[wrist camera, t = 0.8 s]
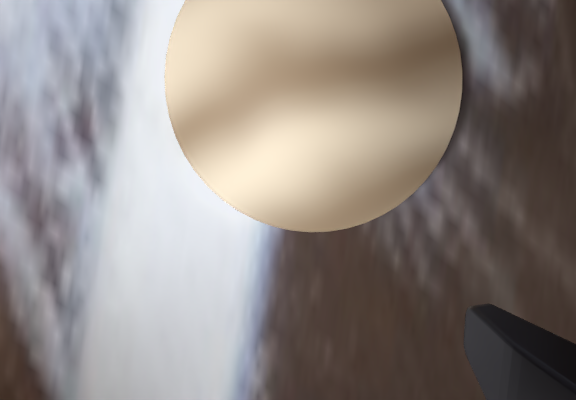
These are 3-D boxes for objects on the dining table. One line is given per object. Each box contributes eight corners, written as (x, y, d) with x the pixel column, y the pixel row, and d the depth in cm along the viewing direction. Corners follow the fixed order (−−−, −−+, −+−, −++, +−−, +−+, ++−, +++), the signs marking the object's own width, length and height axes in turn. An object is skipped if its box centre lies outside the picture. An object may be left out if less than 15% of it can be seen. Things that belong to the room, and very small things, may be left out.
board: (501, 148, 22) (508, 147, 22) (255, 279, 22) (255, 282, 22) (379, -122, 21) (383, -130, 20) (111, 18, 21) (106, 14, 20)
